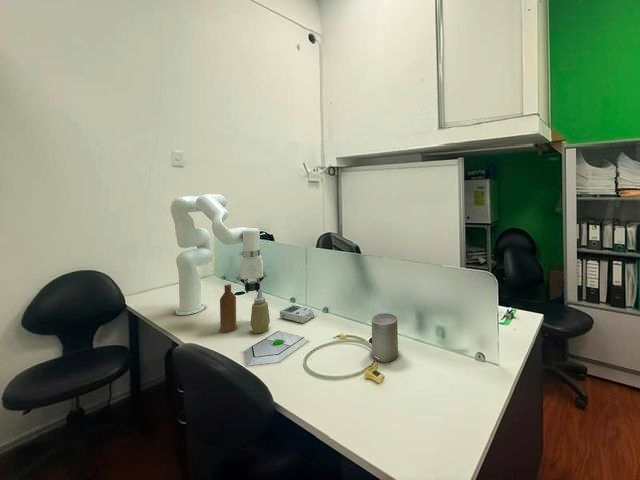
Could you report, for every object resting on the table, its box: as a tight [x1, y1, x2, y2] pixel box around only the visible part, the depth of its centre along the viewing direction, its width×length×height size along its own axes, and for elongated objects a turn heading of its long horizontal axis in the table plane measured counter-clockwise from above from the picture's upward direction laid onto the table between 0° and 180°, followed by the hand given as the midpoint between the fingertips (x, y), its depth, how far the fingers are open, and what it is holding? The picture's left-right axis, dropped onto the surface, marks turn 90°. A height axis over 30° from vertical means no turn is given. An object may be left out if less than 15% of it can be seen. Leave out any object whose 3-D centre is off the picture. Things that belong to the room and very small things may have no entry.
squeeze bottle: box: [249, 289, 271, 334], centre depth 131 cm, size 8×8×18 cm
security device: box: [244, 330, 307, 366], centre depth 115 cm, size 17×22×2 cm
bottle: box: [219, 283, 237, 334], centre depth 133 cm, size 6×6×20 cm
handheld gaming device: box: [279, 304, 315, 324], centre depth 144 cm, size 9×15×4 cm, turn 63°
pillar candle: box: [370, 312, 399, 363], centre depth 110 cm, size 10×10×15 cm
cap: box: [248, 280, 257, 292], centre depth 143 cm, size 4×4×4 cm
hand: (252, 291), depth 143 cm, fingers closed on cap, 3 cm apart
